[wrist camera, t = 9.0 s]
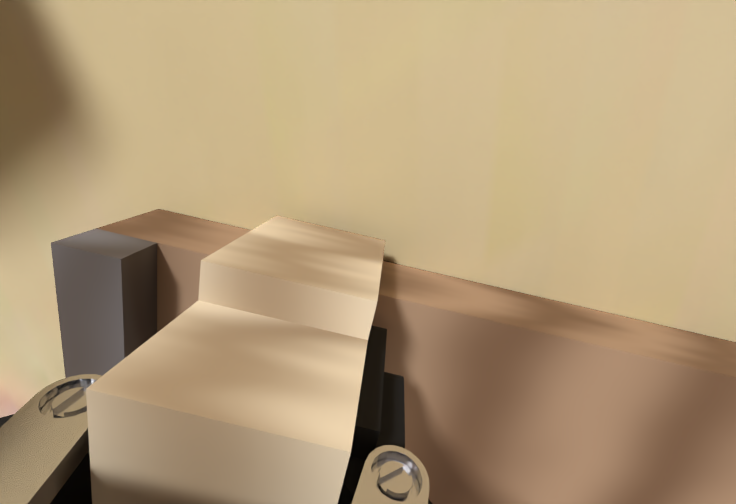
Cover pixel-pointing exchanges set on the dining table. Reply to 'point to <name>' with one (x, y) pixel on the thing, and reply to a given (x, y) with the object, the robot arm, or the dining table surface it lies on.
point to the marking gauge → (245, 378)
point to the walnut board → (461, 372)
